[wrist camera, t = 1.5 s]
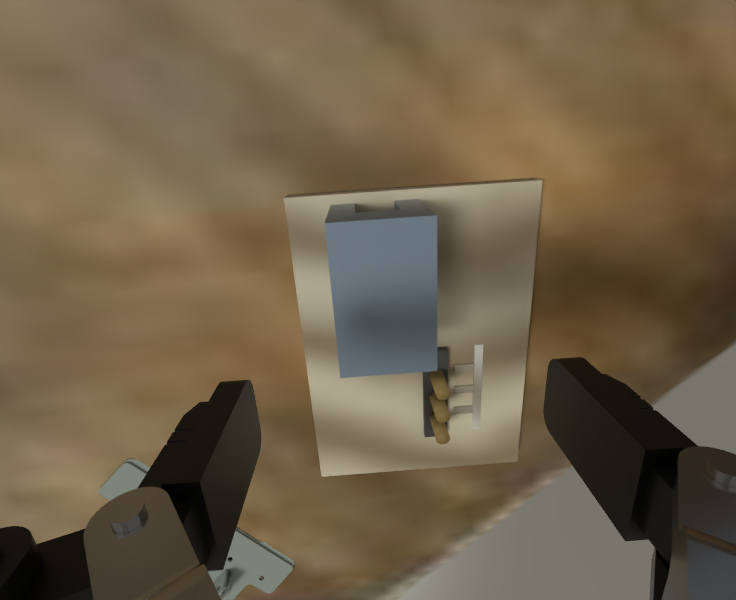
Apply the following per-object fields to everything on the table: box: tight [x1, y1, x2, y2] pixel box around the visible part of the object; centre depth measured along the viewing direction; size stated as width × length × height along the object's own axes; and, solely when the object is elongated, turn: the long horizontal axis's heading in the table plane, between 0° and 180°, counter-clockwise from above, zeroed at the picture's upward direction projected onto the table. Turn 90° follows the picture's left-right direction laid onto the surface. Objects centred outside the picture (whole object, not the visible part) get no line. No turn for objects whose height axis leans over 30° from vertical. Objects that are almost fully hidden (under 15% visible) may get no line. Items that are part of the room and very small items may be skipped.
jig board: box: [284, 178, 543, 477], centre depth 23 cm, size 18×13×4 cm
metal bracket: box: [99, 459, 294, 600], centre depth 30 cm, size 14×6×15 cm
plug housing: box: [324, 199, 437, 378], centre depth 19 cm, size 7×4×5 cm, turn 4°
